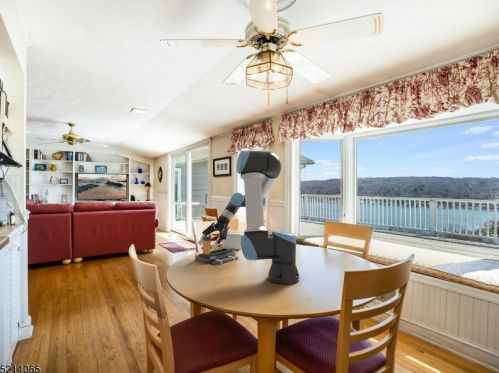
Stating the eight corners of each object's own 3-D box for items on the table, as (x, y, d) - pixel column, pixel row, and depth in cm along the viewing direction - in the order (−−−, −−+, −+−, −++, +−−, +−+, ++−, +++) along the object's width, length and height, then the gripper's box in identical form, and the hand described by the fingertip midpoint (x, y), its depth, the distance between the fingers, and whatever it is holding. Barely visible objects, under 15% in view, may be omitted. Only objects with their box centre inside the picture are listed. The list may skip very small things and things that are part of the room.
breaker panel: (222, 253, 184) (222, 247, 184) (235, 257, 176) (235, 250, 176) (195, 260, 168) (195, 253, 168) (208, 264, 160) (208, 257, 160)
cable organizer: (245, 247, 205) (246, 231, 205) (242, 250, 194) (242, 233, 194) (226, 245, 208) (226, 230, 208) (221, 249, 198) (221, 232, 198)
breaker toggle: (207, 254, 170) (207, 235, 170) (211, 255, 167) (212, 236, 167) (201, 255, 167) (201, 236, 166) (206, 257, 164) (206, 237, 164)
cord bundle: (233, 257, 175) (233, 255, 175) (238, 259, 172) (238, 256, 172) (210, 263, 161) (210, 260, 161) (216, 265, 158) (216, 262, 158)
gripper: (242, 224, 171) (223, 253, 161) (215, 220, 188) (197, 246, 177) (236, 216, 167) (216, 245, 157) (209, 213, 184) (190, 239, 173)
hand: (206, 246), depth 167 cm, fingers open, 13 cm apart
